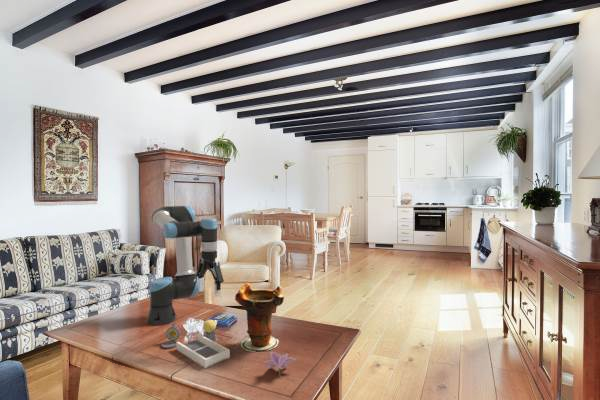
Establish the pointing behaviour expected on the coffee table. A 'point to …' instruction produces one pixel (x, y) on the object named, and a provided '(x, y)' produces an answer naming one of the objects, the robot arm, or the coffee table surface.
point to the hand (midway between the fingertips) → (209, 293)
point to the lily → (279, 360)
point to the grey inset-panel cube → (210, 335)
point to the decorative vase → (259, 316)
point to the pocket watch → (170, 332)
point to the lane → (204, 351)
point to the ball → (209, 326)
